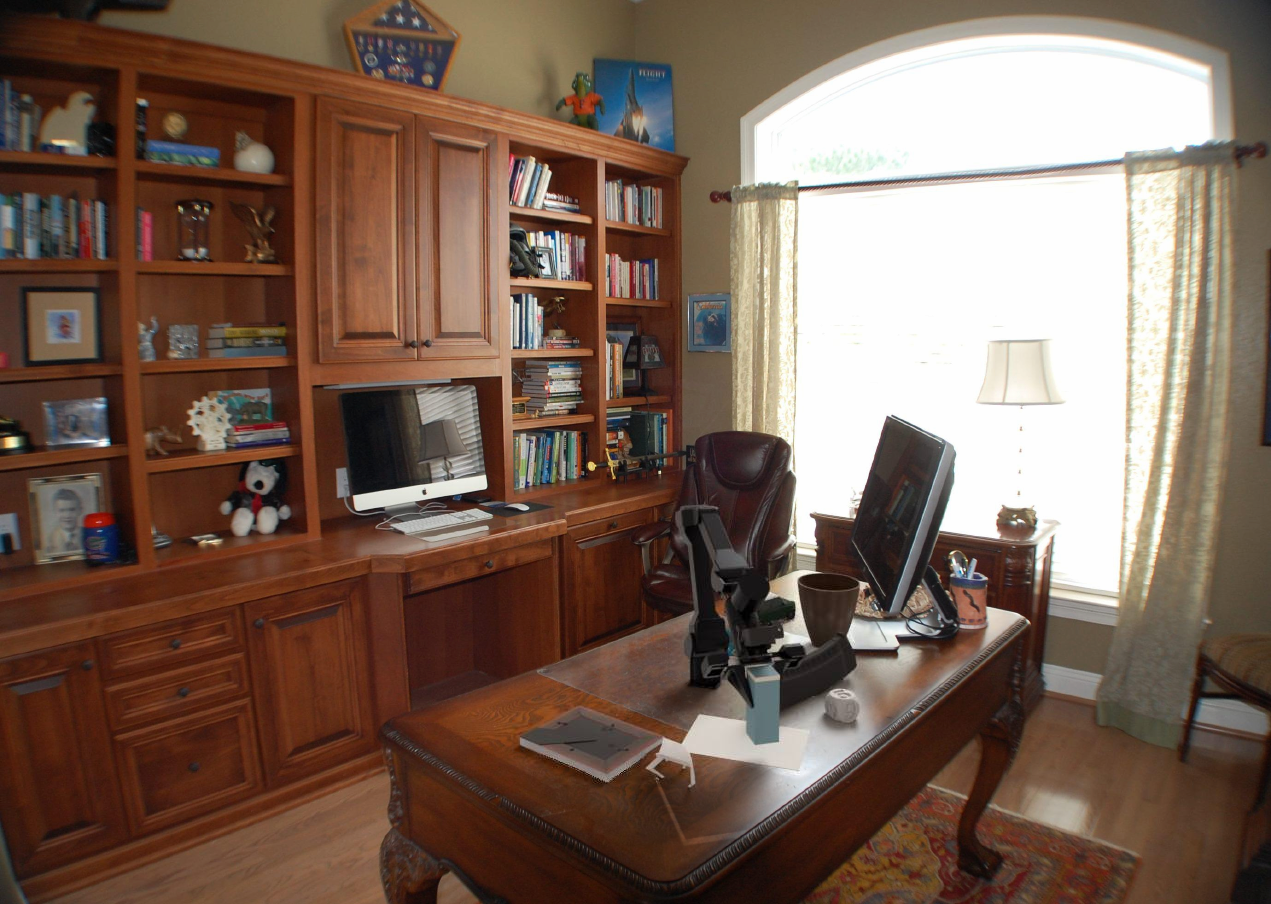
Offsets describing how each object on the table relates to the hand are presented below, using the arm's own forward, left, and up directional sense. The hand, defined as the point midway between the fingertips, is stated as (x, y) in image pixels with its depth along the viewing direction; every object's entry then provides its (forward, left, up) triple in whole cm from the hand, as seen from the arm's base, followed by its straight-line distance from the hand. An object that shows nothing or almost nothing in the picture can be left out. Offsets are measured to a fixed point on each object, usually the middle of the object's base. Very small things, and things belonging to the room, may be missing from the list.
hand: (765, 706), depth 142 cm
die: (+11, +22, -11) cm, 27 cm away
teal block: (-1, +1, -7) cm, 7 cm away
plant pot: (+4, +60, -11) cm, 61 cm away
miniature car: (-14, +72, -11) cm, 74 cm away
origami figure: (-14, -10, -11) cm, 20 cm away
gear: (-16, +46, -11) cm, 50 cm away
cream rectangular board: (-5, +6, -11) cm, 13 cm away
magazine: (+4, +29, -11) cm, 32 cm away
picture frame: (-32, -3, -12) cm, 34 cm away
